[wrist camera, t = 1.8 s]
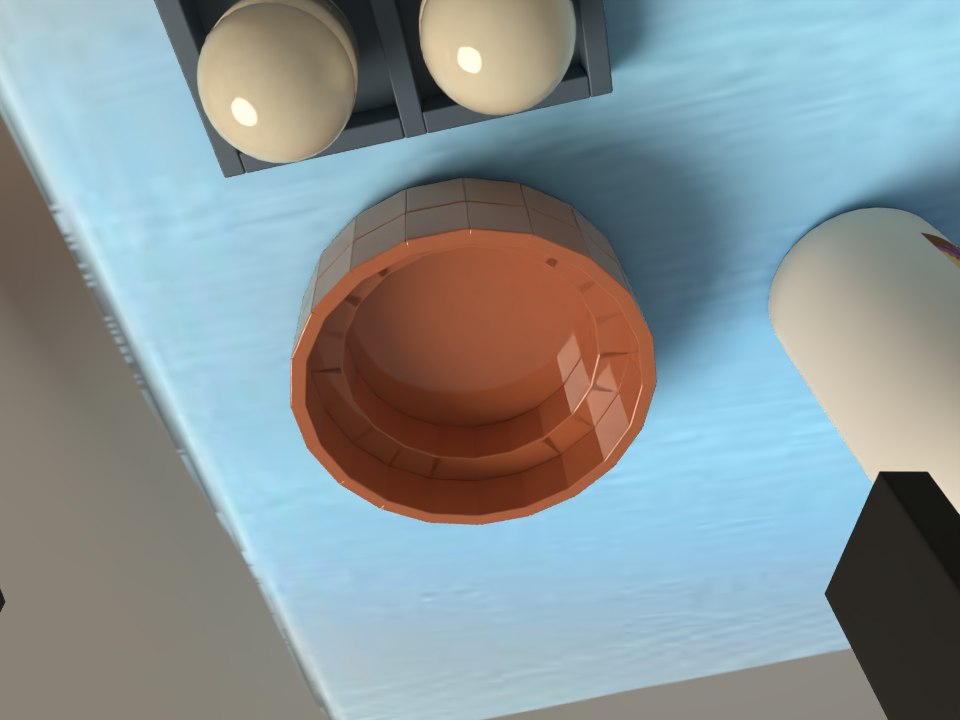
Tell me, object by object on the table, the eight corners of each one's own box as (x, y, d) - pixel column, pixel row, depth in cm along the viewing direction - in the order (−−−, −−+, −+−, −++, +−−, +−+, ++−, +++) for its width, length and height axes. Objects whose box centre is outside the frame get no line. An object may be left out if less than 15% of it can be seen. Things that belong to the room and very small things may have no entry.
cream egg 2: (483, -112, 27) (504, -79, 21) (578, -8, 29) (624, 50, 23) (390, -1, 29) (385, 61, 23) (486, 90, 31) (506, 169, 25)
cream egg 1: (282, -65, 28) (246, -18, 22) (390, 35, 30) (385, 104, 24) (202, 43, 29) (148, 114, 23) (309, 130, 31) (285, 217, 25)
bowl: (459, 98, 32) (467, 147, 27) (693, 313, 38) (728, 379, 34) (237, 339, 37) (215, 410, 33) (474, 493, 43) (481, 569, 39)
